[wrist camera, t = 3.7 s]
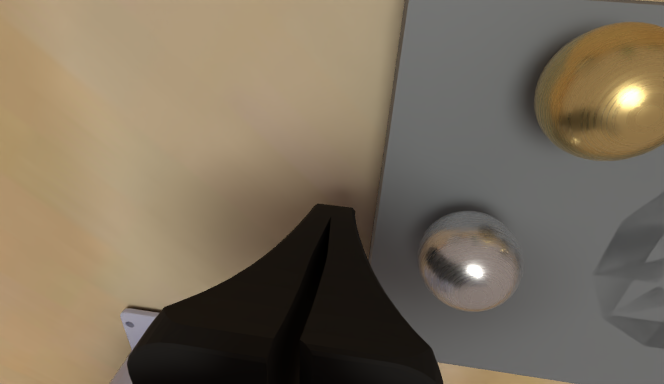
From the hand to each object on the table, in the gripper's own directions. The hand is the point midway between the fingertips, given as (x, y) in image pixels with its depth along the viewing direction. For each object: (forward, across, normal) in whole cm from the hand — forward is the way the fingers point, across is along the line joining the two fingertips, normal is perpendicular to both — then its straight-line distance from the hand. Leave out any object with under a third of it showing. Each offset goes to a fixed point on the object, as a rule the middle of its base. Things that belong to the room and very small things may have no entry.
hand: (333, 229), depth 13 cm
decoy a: (-1, -6, -6) cm, 9 cm away
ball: (-1, -4, 0) cm, 5 cm away
